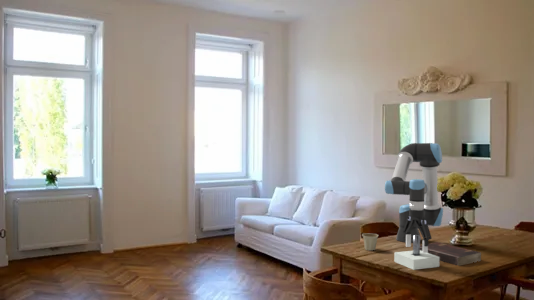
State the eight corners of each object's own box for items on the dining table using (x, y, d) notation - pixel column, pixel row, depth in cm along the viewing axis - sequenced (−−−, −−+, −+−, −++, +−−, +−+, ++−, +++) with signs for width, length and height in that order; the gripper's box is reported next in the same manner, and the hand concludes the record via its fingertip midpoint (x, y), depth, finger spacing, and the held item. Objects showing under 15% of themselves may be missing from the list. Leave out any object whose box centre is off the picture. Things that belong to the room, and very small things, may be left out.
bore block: (419, 259, 255) (419, 249, 255) (439, 266, 240) (439, 256, 240) (394, 261, 249) (394, 252, 249) (413, 269, 234) (413, 259, 234)
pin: (416, 260, 247) (417, 234, 246) (421, 262, 244) (421, 235, 243) (411, 261, 246) (411, 235, 245) (415, 263, 242) (415, 236, 242)
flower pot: (378, 251, 271) (378, 237, 271) (362, 251, 273) (362, 236, 273) (378, 248, 280) (378, 233, 280) (362, 247, 282) (362, 233, 282)
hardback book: (414, 254, 267) (414, 245, 266) (436, 250, 276) (437, 242, 276) (458, 266, 242) (458, 257, 241) (481, 261, 251) (481, 252, 251)
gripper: (396, 206, 254) (396, 244, 255) (426, 213, 231) (426, 255, 231) (407, 205, 257) (407, 243, 257) (439, 212, 233) (438, 254, 234)
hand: (416, 249), depth 244 cm, fingers open, 13 cm apart
